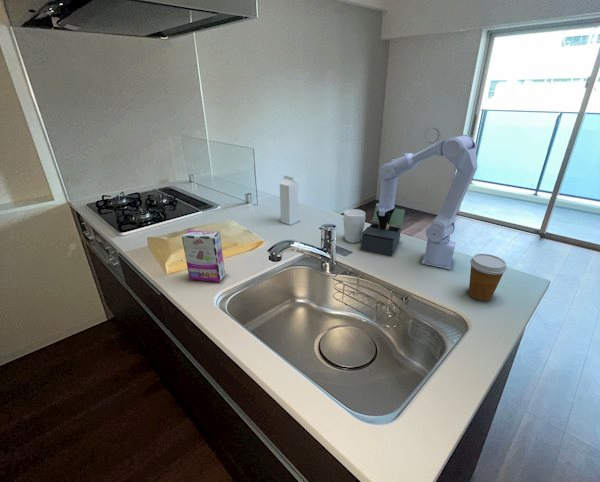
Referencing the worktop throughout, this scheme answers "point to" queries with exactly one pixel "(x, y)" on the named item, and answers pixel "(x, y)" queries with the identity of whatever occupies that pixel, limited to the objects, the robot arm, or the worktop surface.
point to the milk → (289, 200)
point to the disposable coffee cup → (485, 275)
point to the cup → (353, 225)
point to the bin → (380, 239)
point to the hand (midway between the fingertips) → (384, 227)
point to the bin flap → (395, 218)
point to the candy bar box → (204, 255)
